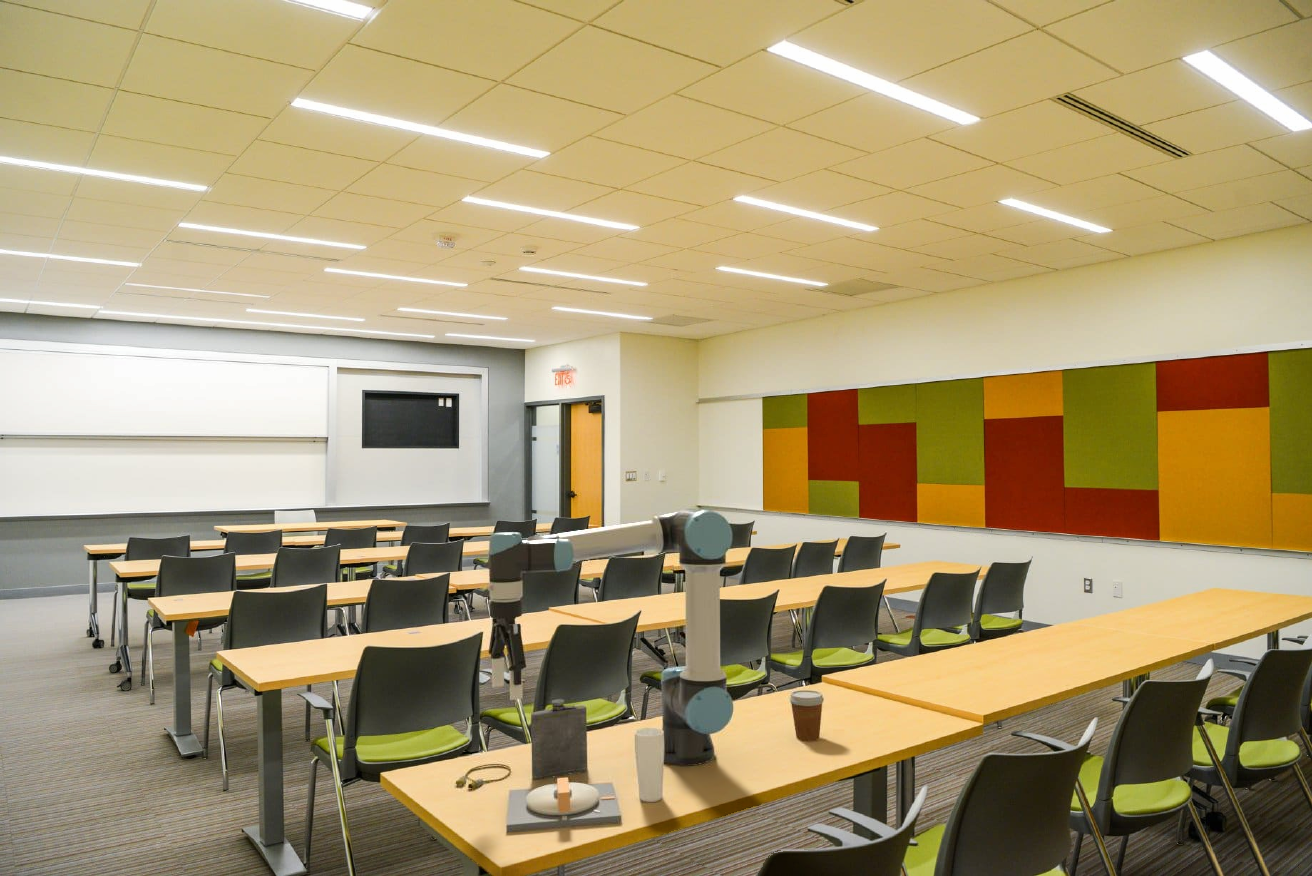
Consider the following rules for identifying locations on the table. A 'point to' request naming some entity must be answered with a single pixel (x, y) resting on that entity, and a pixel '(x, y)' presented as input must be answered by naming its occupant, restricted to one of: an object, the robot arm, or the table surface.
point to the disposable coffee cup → (807, 713)
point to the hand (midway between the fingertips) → (506, 692)
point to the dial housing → (530, 820)
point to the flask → (558, 740)
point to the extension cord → (478, 782)
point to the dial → (562, 798)
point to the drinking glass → (650, 763)
